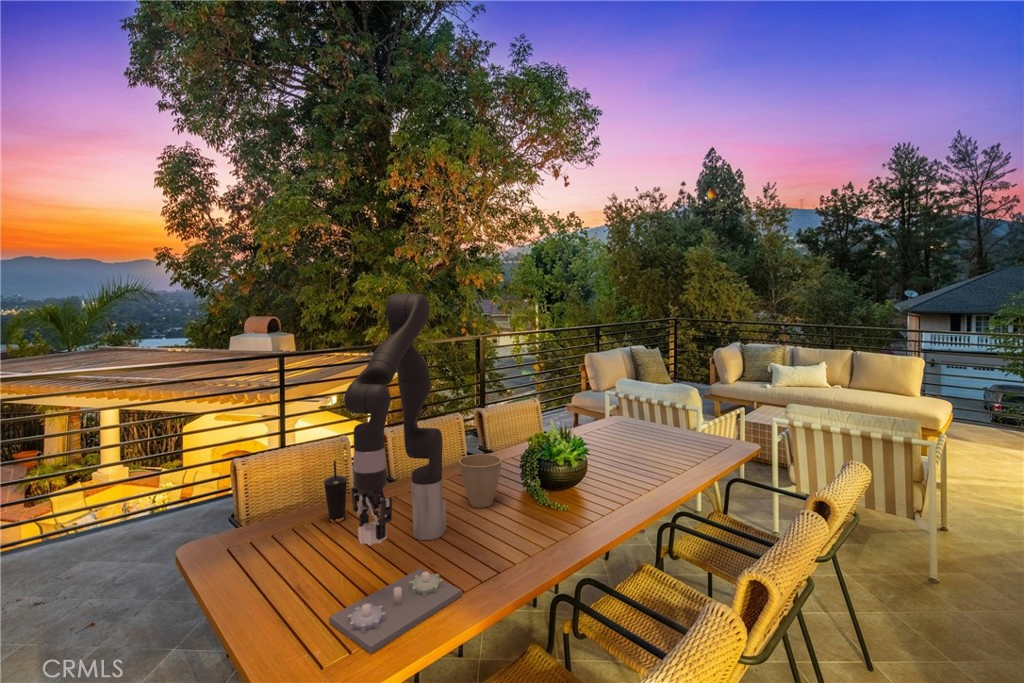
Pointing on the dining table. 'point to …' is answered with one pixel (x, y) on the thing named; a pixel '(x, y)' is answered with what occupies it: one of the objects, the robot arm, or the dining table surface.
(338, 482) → the drinking cup
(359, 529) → the gear
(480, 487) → the plant pot
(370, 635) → the gear board
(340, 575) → the dining table surface
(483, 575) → the dining table surface
